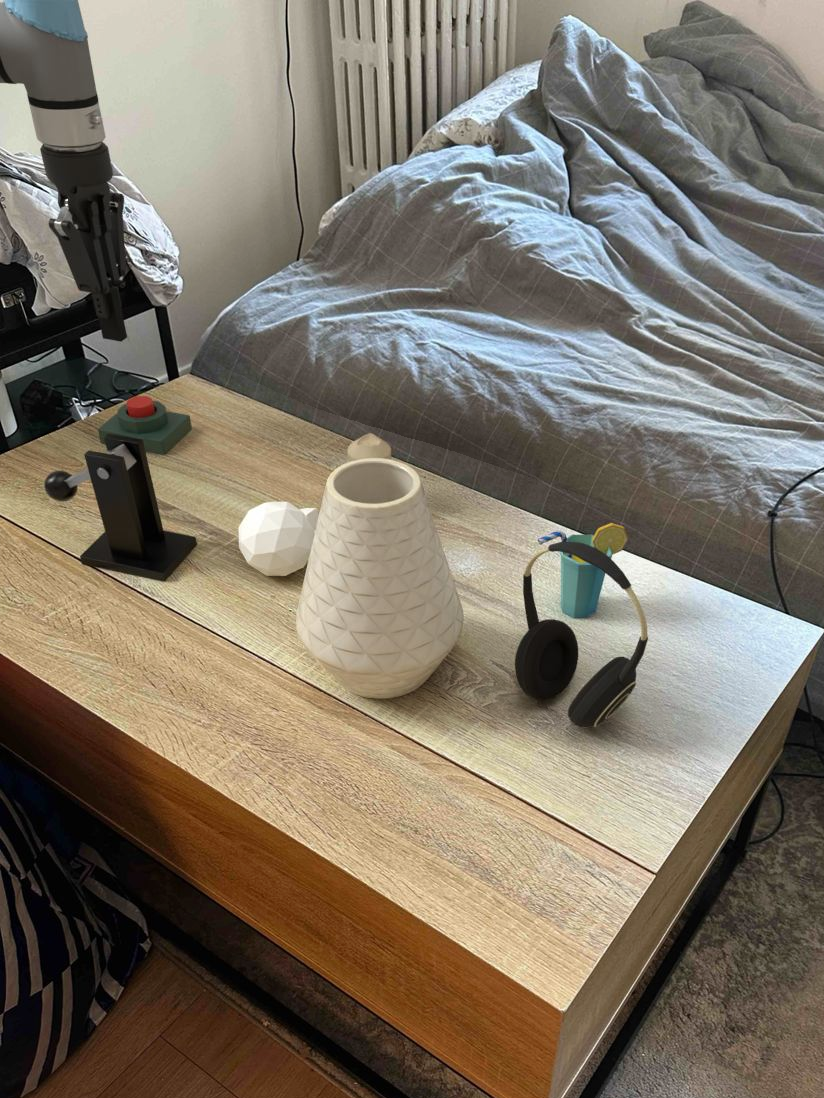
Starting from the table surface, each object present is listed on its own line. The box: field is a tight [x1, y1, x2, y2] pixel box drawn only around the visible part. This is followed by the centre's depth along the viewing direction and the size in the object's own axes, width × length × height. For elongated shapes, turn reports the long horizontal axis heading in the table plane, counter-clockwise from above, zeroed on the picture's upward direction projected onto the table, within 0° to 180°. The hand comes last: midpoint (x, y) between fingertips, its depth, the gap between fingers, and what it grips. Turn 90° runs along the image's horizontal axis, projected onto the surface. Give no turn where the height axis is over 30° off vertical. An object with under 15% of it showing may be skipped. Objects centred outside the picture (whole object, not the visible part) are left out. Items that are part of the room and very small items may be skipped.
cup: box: [537, 522, 629, 619], centre depth 110 cm, size 11×6×12 cm, turn 117°
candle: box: [346, 432, 392, 463], centre depth 125 cm, size 6×6×10 cm
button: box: [125, 395, 155, 418], centre depth 136 cm, size 4×4×2 cm
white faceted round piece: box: [237, 501, 319, 577], centre depth 116 cm, size 9×9×12 cm
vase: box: [295, 458, 465, 700], centre depth 98 cm, size 18×17×23 cm
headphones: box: [514, 541, 649, 729], centre depth 95 cm, size 9×15×20 cm, turn 49°
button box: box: [97, 400, 193, 456], centre depth 138 cm, size 10×8×4 cm
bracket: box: [79, 433, 198, 582], centre depth 113 cm, size 11×8×15 cm
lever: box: [43, 444, 137, 503], centre depth 112 cm, size 13×4×4 cm, turn 75°
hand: (115, 337), depth 129 cm, fingers closed
